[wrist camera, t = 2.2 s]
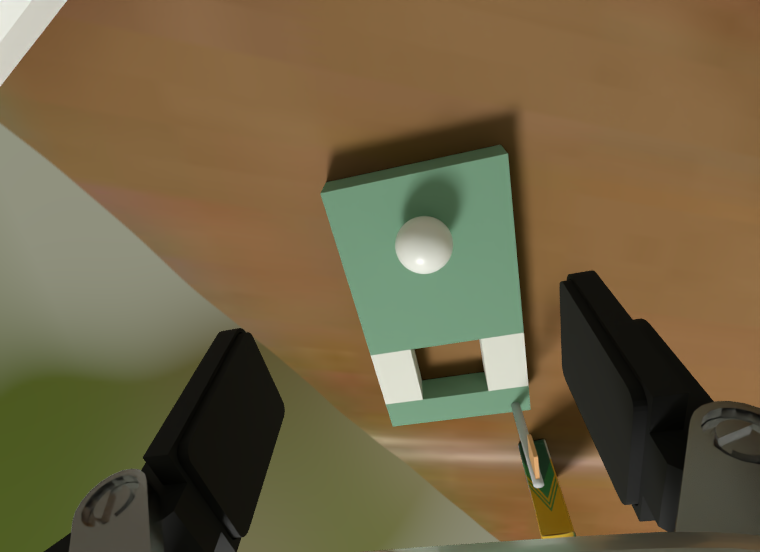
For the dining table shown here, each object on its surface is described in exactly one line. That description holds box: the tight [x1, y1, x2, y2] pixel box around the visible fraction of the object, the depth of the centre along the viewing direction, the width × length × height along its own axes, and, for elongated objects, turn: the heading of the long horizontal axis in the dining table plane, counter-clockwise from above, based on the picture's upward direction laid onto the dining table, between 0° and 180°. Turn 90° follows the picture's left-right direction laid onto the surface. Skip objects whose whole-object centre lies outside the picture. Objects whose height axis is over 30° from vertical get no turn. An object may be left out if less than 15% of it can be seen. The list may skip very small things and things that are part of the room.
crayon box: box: [519, 439, 576, 539], centre depth 42 cm, size 7×3×12 cm, turn 19°
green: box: [321, 145, 544, 488], centre depth 33 cm, size 13×24×10 cm, turn 13°
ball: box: [395, 216, 453, 274], centre depth 30 cm, size 4×4×4 cm
